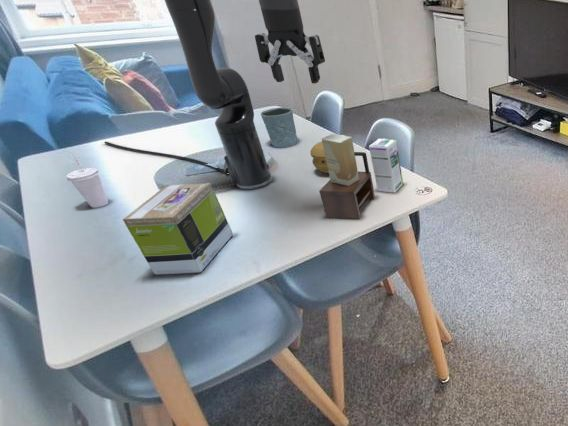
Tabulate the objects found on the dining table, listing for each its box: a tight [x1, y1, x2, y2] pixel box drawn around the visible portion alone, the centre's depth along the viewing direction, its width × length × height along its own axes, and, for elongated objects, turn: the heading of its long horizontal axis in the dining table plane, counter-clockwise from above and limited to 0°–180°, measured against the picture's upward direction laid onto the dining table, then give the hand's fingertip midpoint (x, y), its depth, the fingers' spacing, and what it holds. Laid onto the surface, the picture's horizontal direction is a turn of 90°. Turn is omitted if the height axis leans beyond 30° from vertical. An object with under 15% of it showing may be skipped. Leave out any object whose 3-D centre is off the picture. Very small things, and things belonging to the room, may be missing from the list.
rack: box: [319, 151, 376, 220], centre depth 113 cm, size 9×12×14 cm
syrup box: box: [368, 138, 404, 194], centre depth 123 cm, size 6×6×14 cm
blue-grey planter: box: [260, 107, 299, 149], centre depth 154 cm, size 10×10×12 cm
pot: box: [309, 141, 329, 174], centre depth 135 cm, size 12×12×10 cm
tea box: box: [122, 182, 234, 276], centre depth 94 cm, size 15×10×15 cm, turn 5°
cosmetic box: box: [321, 133, 359, 186], centre depth 109 cm, size 6×4×12 cm
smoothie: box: [65, 156, 109, 209], centre depth 114 cm, size 6×6×14 cm
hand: (297, 82), depth 100 cm, fingers open, 8 cm apart
